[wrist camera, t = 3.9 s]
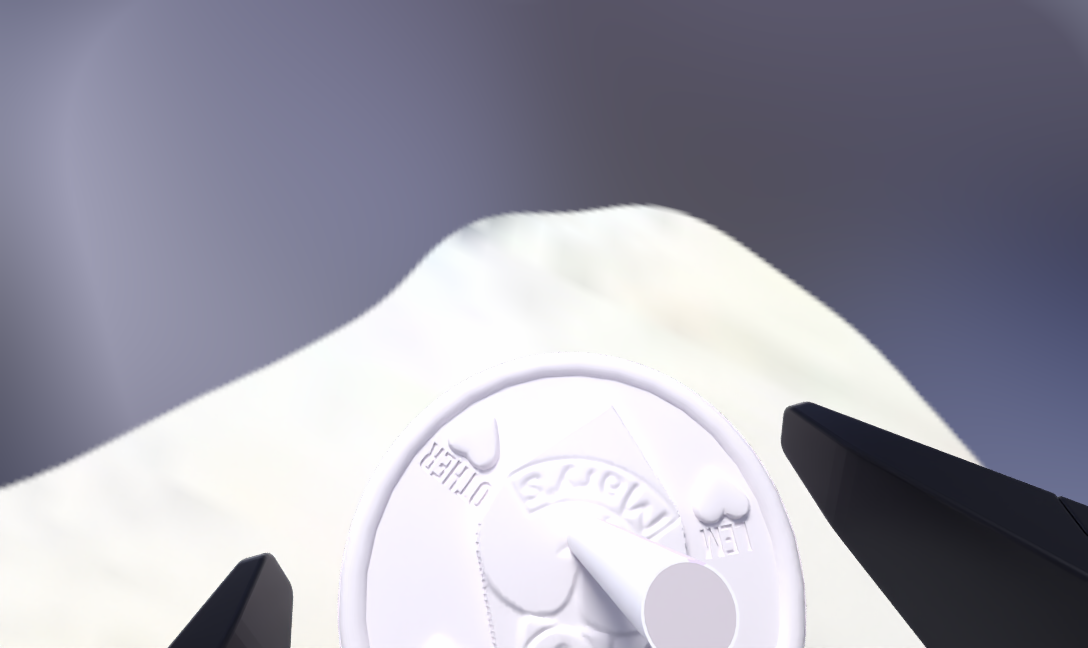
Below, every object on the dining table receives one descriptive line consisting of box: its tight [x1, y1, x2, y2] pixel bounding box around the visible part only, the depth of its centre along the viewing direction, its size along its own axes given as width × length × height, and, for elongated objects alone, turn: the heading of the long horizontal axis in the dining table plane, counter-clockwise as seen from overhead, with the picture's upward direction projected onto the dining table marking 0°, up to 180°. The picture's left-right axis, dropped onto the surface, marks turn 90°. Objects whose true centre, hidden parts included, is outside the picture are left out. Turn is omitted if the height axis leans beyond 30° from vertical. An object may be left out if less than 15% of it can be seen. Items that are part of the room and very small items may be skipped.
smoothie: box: [338, 352, 806, 648], centre depth 9 cm, size 6×6×14 cm
